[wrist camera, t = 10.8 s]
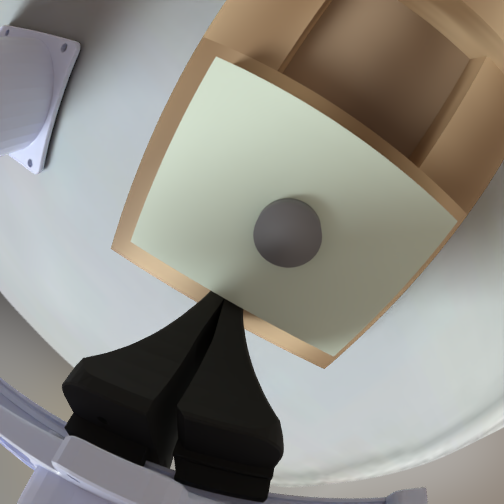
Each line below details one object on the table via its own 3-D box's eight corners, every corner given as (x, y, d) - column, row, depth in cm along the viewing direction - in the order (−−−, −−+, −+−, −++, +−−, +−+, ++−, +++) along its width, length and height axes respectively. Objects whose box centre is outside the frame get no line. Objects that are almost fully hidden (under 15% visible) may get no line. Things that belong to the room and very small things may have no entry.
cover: (151, 223, 12) (121, 248, 10) (230, 65, 9) (209, 52, 7) (331, 328, 13) (334, 367, 11) (437, 204, 10) (465, 228, 7)
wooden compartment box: (131, 232, 15) (89, 267, 11) (308, -73, 6) (307, -118, 3) (323, 342, 16) (324, 396, 12) (519, 79, 8) (567, 80, 4)
